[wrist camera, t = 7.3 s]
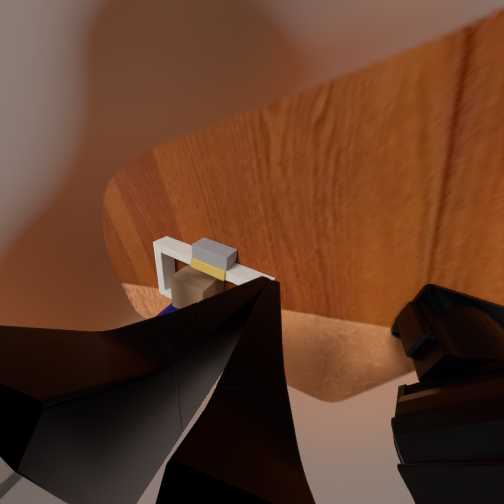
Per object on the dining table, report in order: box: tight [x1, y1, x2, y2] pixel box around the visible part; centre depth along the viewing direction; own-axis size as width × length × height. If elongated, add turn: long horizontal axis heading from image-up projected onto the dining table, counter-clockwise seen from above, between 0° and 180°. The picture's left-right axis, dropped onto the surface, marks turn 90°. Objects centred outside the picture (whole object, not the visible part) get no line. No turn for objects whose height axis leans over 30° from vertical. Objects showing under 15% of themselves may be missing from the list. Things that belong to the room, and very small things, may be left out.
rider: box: [170, 265, 224, 309], centre depth 26 cm, size 5×5×5 cm
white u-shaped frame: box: [153, 236, 275, 299], centre depth 27 cm, size 17×13×3 cm
